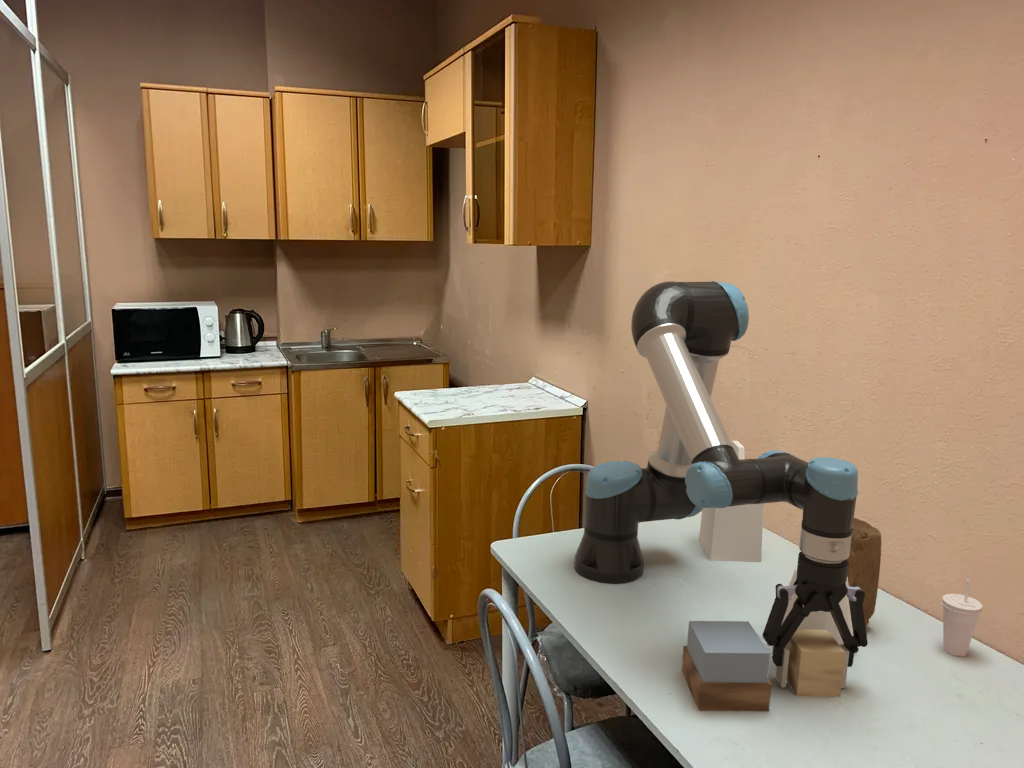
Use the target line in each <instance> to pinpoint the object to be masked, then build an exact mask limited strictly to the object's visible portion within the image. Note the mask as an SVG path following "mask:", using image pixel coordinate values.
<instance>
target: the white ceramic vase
mask: <svg viewBox="0 0 1024 768" xmlns="http://www.w3.org/2000/svg"><path fill="white" fill-rule="evenodd" d="M796 579H797V566H796V567H795V569H794V572H793V573H792V575H791V578H790V581H789V584H788V586H791V585H793V584H794V582H795V581H796ZM846 586H849V584H848V577H847V581H846ZM796 599H797V595H796V594H793V595H792V598H791V600H790V601H789V600H788V607H787V610H786V613H785V616H784V619H783V621H782V623H783V622H784V620H785V619H786V617H787V616H788V614H789V613H790V611H791V610H792V608H793V603H794V602H795V600H796ZM839 605H840V608H841V610H842V612H843V616H844V619H845V621H846V623H847V626H848V628H849V630H850V633H851V635H852V636H854V635H853V628H852V621H851V614H850V607H849V598H848V597H847V594H846V596H845V597H844V598H843V599H842V600H841V601H840V602H839ZM803 607H804V605H803ZM781 625H782V624H781ZM798 629H811V630H827V631H828V632H829V633H830V634H831V636H832V637H833V638H834V639H835V640H836V642H837V643H843V645H844V642H843V640H842V638H841V636H840V634H839V631H838V629H837V627H836V624H835V622H834V620H833V617H832V615H831V613H830V612H824V611H817V612H810V614H809V615H808V617H805V618H804V620H803V621H802V623H801V624H800V626H799V627H798Z"/></svg>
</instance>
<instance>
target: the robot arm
mask: <svg viewBox="0 0 1024 768" xmlns="http://www.w3.org/2000/svg"><path fill="white" fill-rule="evenodd" d="M739 288H740V287H738V286H736V285H735V284H733V283H730V282H722V281H721V282H720V281H719V282H718V281H716V280H711V281H673V280H672V281H671V280H670V281H663V282H660V283H657V284H654V285H653V286H651V287H650V288H648V289H646V291H645V292H643V294H642V295H641V296H640V297H639V299H638V300H637V302H636V304H635V306H634V309H633V312H632V316H631V323H630V324H631V330H630V331H631V335H632V340H633V342H634V345H635V348H636V350H637V352H638V354H639V355H640V356H641V357H643V358H645V359H646V360H647V362H648V364H649V367H650V370H651V372H652V373H653V376H654V378H655V379H654V380H655V381H656V383H657V385H658V388H659V391H660V393H661V395H662V398H663V401H664V402H665V405H666V407H665V410H664V417H663V421H662V426H661V432H660V437H659V441H658V447H657V450H656V451H653V452H651V454H650V455H649V456H648V461H647V466H646V467H643V468H642V467H641V466H640V465H639V464H638V463H635V462H632V461H628V460H627V461H626V460H623V461H621V460H612V461H606V462H603V463H602V462H601V463H599V464H597V465H595V466H593V467H592V468H591V469H590V470H589V471H588V473H587V476H586V485H585V489H584V493H585V500H584V501H585V502H584V525H583V526H584V527H583V529H584V530H583V535H582V537H581V540H580V542H579V545H578V547H577V550H576V553H575V555H574V569H575V570H576V572H577V573H579V574H580V575H581V576H582V577H585V578H587V579H589V580H593V581H597V582H600V583H601V582H602V583H609V584H621V583H628V582H633V581H636V580H638V579H640V578H641V577H642V576H643V574H644V569H645V561H644V556H643V552H642V550H641V549H642V548H641V544H640V542H639V539H638V534H639V533H638V531H639V523H645V522H646V523H647V522H656V521H657V522H658V521H665V520H667V521H668V520H682V519H686V518H692V517H695V516H697V515H698V514H699V513H700V512H702V509H703V508H725V507H729V506H738V505H746V504H763V505H764V504H772V503H779V502H780V503H781V502H784V503H787V504H789V505H792V506H794V507H795V508H798V509H800V510H801V511H802V520H801V529H800V536H799V537H800V538H799V544H798V545H799V546H798V548H799V550H800V551H799V552H798V557H797V565H796V567H797V579H796V581H795V582H794V584H793V585H791V586H789V585H783V584H782V583H777V584H776V585H775V598H774V601H773V604H772V606H771V609H770V611H769V615H768V618H767V620H766V624H765V626H764V629H763V633H762V638H763V640H764V641H765V642H766V643H767V646H768V647H772V657H771V658H772V662H773V664H774V666H775V667H776V668H775V669H776V670H775V680H776V682H777V683H778V685H779V686H780V688H786V687H787V683H788V682H787V672H788V662H789V652H790V651H789V649H788V648H787V646H786V645H787V644H788V642H789V641H790V639H791V638H792V636H793V635H794V633H795V632H796V630H797V629H798V627H799V626H800V624H801V623H802V621H803V620H804V618H805V617H808V615H809V614H810V612H817V611H824V612H830V613H831V615H832V617H833V620H834V622H835V624H836V627H837V629H838V631H839V634H840V636H841V638H842V640H843V642H844V645H843V643H838V644H839V645H840V646H841V648H842V649H843V650H844V651H845V656H844V664H843V673H842V681H841V689H846V684H847V678H848V677H847V675H848V668H852V666H853V665H854V658H855V654H857V653H858V652H859V647H862V648H865V647H867V646H868V644H869V643H868V635H867V625H866V626H865V619H864V612H863V601H864V597H865V593H864V592H863V591H862V590H861V589H860V588H859V587H858V586H857V585H852V586H851V587H849V586H846V581H847V574H848V565H849V562H848V560H847V558H849V555H850V547H851V538H852V528H853V520H854V518H855V512H856V511H855V510H856V505H857V503H856V502H857V497H858V494H859V489H858V484H859V483H858V480H859V471H858V468H857V467H856V465H855V464H853V463H852V462H850V461H847V460H844V459H839V458H836V457H827V456H825V457H823V456H822V457H814V458H812V459H810V460H809V462H808V461H805V460H804V459H801V458H798V457H797V456H795V455H794V454H791V453H789V452H784V451H779V450H776V449H772V450H768V451H766V452H764V453H762V454H761V455H759V456H758V457H757V458H745V459H739V458H738V456H737V454H736V452H735V450H734V448H733V446H732V444H731V439H730V437H729V435H728V434H727V431H726V429H725V427H724V425H723V423H722V420H721V419H720V416H719V413H718V411H717V410H716V407H715V406H714V403H713V401H712V398H711V397H712V395H713V394H712V393H713V389H714V384H715V381H716V380H715V379H716V374H717V371H718V367H719V362H720V360H721V359H723V358H724V357H726V356H728V355H729V353H730V348H731V343H732V342H735V341H738V340H740V339H741V338H743V336H745V334H746V332H747V330H748V326H749V320H750V318H749V317H750V315H749V314H750V313H749V307H748V303H747V300H746V297H745V295H744V293H743V292H742V291H741V289H739ZM793 594H796V595H797V599H796V600H795V602H794V603H793V608H792V610H791V611H790V613H789V614H788V616H787V617H786V619H785V620H784V622H783V623H782V621H783V619H784V616H785V613H786V610H787V607H788V600H789V601H790V600H791V598H792V595H793ZM846 594H847V597H848V598H849V607H850V614H851V621H852V628H853V635H854V636H852V635H851V633H850V630H849V628H848V626H847V623H846V621H845V619H844V616H843V612H842V610H841V608H840V605H839V602H840V601H841V600H842V599H843V598H844V597H845V596H846ZM803 605H804V607H803ZM781 624H782V625H781Z"/></svg>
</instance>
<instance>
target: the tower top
mask: <svg viewBox="0 0 1024 768" xmlns="http://www.w3.org/2000/svg"><path fill="white" fill-rule="evenodd" d="M687 628H688V629H687V643H686V646H687V650H688V652H689V654H690V656H691V658H692V660H693V662H694V665H695V667H696V669H697V671H698V673H699V675H700V677H701V679H702V681H703V682H719V683H767V677H768V676H769V663H770V656H771V653H770V652H769V650H768V648H767V647H766V645H765V644H764V643H763V641H762V639H761V638H760V636H759V635H758V633H757V632H756V631H755V629H754V628H753V626H752V624H751V623H750V621H749V620H747V621H743V620H742V621H741V620H739V621H738V620H737V621H733V620H731V621H729V620H726V621H725V620H688V627H687Z"/></svg>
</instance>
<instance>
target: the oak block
mask: <svg viewBox="0 0 1024 768" xmlns="http://www.w3.org/2000/svg"><path fill="white" fill-rule="evenodd" d="M786 646H787V648H788V649H789V651H790V652H789V662H788V672H787V682H786V683H787V685H789V687H790V688H791V691H792V692H793V693H794V694H795V696H796V697H810V698H811V697H816V698H817V697H818V698H822V697H823V698H824V697H825V698H827V697H828V698H840V697H841V696H840V695H841V689H842V688H841V681H842V673H843V664H844V656H845V651H844V650H843V649H842V648H841V646H840V645H839V644H838V643H837V642H836V640H835V639H834V638H833V637H832V636H831V634H830V633H829V632H828V631H827V630H811V629H797V630H796V632H795V633H794V635H793V636H792V638H791V639H790V641H789V642H788V644H787V645H786Z"/></svg>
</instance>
